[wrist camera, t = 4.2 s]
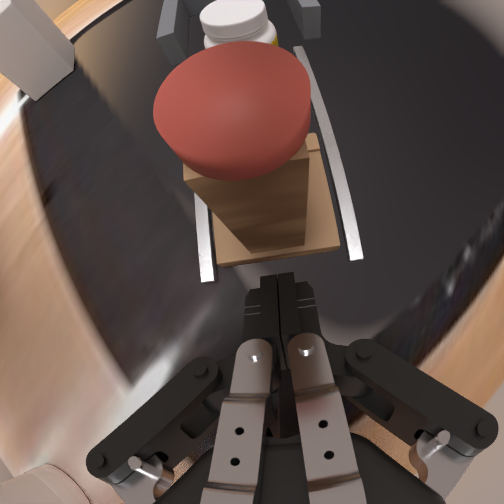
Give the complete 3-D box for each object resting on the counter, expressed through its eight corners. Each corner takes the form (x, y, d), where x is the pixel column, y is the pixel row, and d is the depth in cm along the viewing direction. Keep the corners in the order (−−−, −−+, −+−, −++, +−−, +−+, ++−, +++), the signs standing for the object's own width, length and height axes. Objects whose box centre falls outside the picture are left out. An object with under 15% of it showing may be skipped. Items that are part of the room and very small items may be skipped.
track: (205, 283, 18) (201, 282, 18) (193, 72, 22) (191, 66, 21) (360, 260, 17) (363, 258, 16) (302, 52, 21) (302, 45, 20)
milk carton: (40, 76, 28) (-30, 10, 10) (76, 47, 28) (9, -29, 9) (36, 102, 27) (-49, 31, 8) (74, 70, 26) (-7, -16, 8)
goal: (172, 66, 23) (156, 38, 19) (177, 15, 25) (166, -9, 21) (320, 38, 21) (320, 6, 17) (295, -8, 23) (292, -34, 19)
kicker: (223, 267, 18) (87, 193, 6) (214, 164, 20) (124, 22, 7) (337, 250, 17) (408, 133, 5) (314, 146, 19) (317, -21, 6)
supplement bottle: (263, 63, 21) (246, -15, 13) (295, 94, 20) (288, 8, 12) (214, 88, 21) (182, 12, 13) (242, 121, 20) (213, 38, 12)
